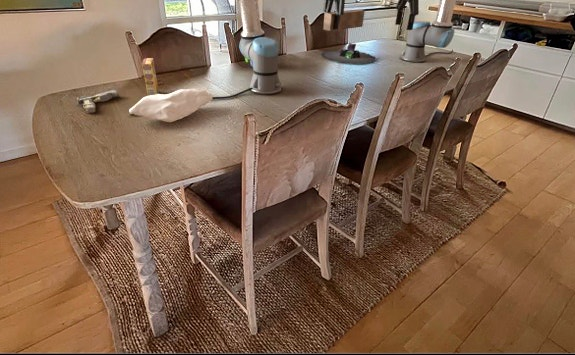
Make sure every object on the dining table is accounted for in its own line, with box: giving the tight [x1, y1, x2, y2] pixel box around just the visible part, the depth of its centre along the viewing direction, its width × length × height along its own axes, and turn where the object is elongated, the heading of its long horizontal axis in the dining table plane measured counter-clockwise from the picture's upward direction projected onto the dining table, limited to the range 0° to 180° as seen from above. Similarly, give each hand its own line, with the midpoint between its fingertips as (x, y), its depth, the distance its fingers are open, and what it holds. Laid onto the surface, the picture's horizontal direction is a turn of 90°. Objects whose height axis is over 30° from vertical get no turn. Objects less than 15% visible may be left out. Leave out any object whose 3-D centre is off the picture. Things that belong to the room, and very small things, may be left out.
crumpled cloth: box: [129, 88, 214, 123], centre depth 147 cm, size 24×35×9 cm
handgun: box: [76, 89, 120, 114], centre depth 155 cm, size 3×18×15 cm
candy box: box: [141, 57, 160, 96], centre depth 163 cm, size 9×4×15 cm, turn 13°
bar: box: [322, 9, 366, 32], centre depth 195 cm, size 26×5×8 cm, turn 129°
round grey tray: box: [321, 42, 377, 64], centre depth 234 cm, size 35×35×9 cm
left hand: (331, 28), depth 192 cm, fingers closed on bar, 5 cm apart
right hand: (403, 27), depth 184 cm, fingers open, 13 cm apart
